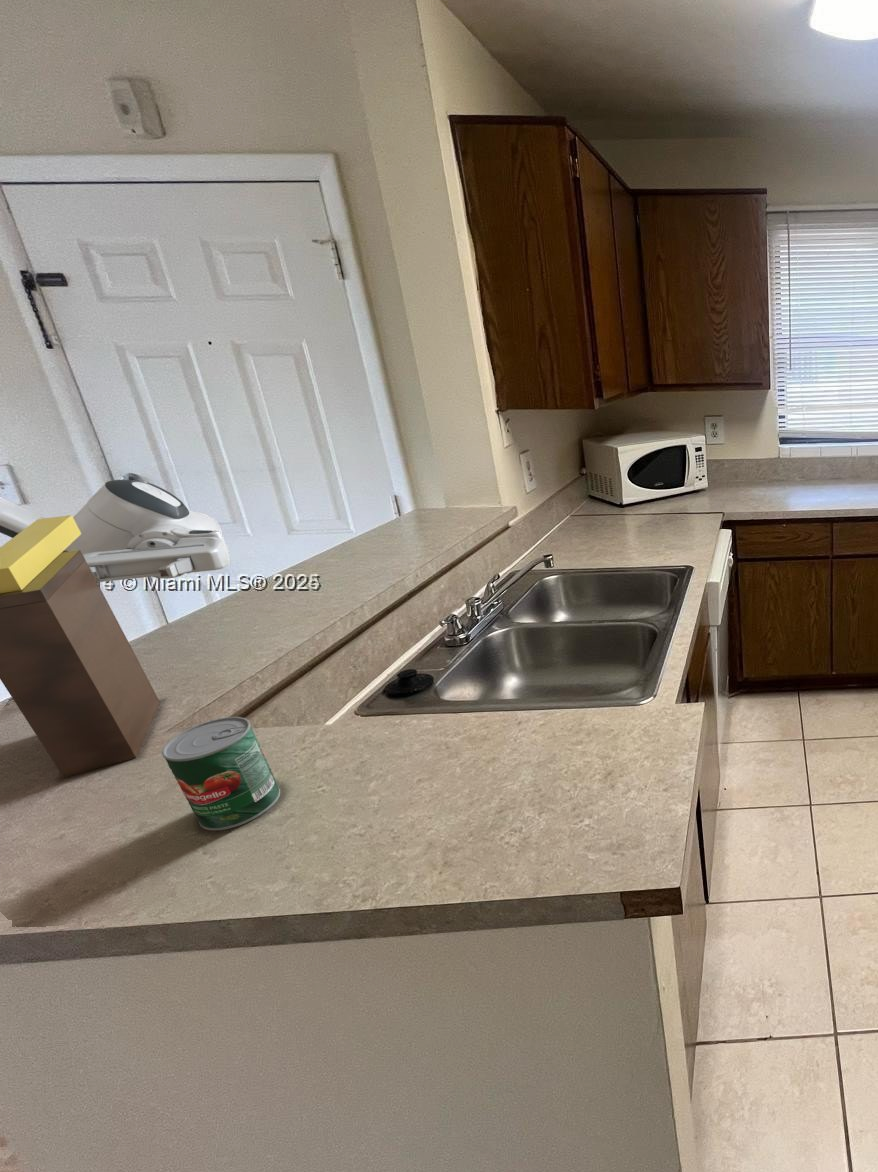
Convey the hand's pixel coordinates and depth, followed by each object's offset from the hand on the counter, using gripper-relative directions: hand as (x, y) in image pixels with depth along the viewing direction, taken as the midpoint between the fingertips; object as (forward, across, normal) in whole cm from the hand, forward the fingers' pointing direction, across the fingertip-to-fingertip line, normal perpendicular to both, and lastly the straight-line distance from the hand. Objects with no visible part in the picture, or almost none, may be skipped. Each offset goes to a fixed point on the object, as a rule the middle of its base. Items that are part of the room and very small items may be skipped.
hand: (126, 576), depth 97 cm
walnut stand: (+17, 0, +19) cm, 26 cm away
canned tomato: (+42, +21, +20) cm, 51 cm away
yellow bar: (+14, -2, -7) cm, 16 cm away
